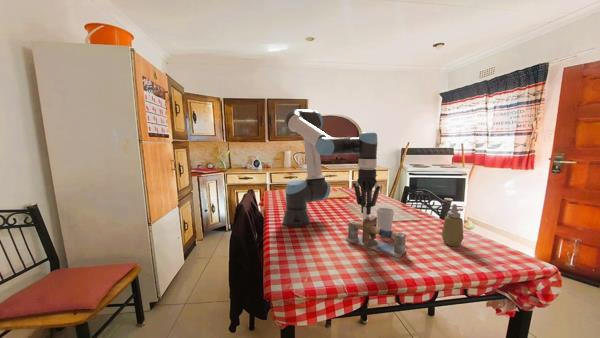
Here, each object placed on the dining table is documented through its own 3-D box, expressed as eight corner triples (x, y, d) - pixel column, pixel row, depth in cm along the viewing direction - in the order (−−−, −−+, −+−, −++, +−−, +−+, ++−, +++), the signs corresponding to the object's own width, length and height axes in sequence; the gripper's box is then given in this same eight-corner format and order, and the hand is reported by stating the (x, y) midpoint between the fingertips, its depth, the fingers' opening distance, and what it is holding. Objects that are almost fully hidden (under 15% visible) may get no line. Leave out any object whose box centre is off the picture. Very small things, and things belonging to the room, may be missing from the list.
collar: (362, 242, 98) (363, 220, 96) (370, 236, 104) (371, 215, 103) (367, 244, 96) (368, 222, 95) (375, 238, 102) (376, 217, 101)
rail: (345, 240, 104) (346, 222, 102) (354, 234, 109) (354, 218, 108) (399, 258, 88) (400, 237, 87) (406, 250, 93) (407, 231, 92)
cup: (394, 237, 107) (395, 212, 105) (376, 235, 109) (377, 211, 107) (391, 230, 115) (392, 207, 113) (374, 229, 116) (375, 206, 115)
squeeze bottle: (459, 241, 102) (462, 202, 100) (465, 249, 94) (469, 208, 92) (438, 238, 105) (441, 201, 102) (443, 246, 97) (446, 206, 95)
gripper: (349, 168, 99) (348, 219, 102) (378, 170, 90) (376, 226, 93) (357, 166, 104) (356, 215, 107) (385, 168, 96) (383, 222, 99)
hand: (365, 220), depth 100 cm, fingers closed
